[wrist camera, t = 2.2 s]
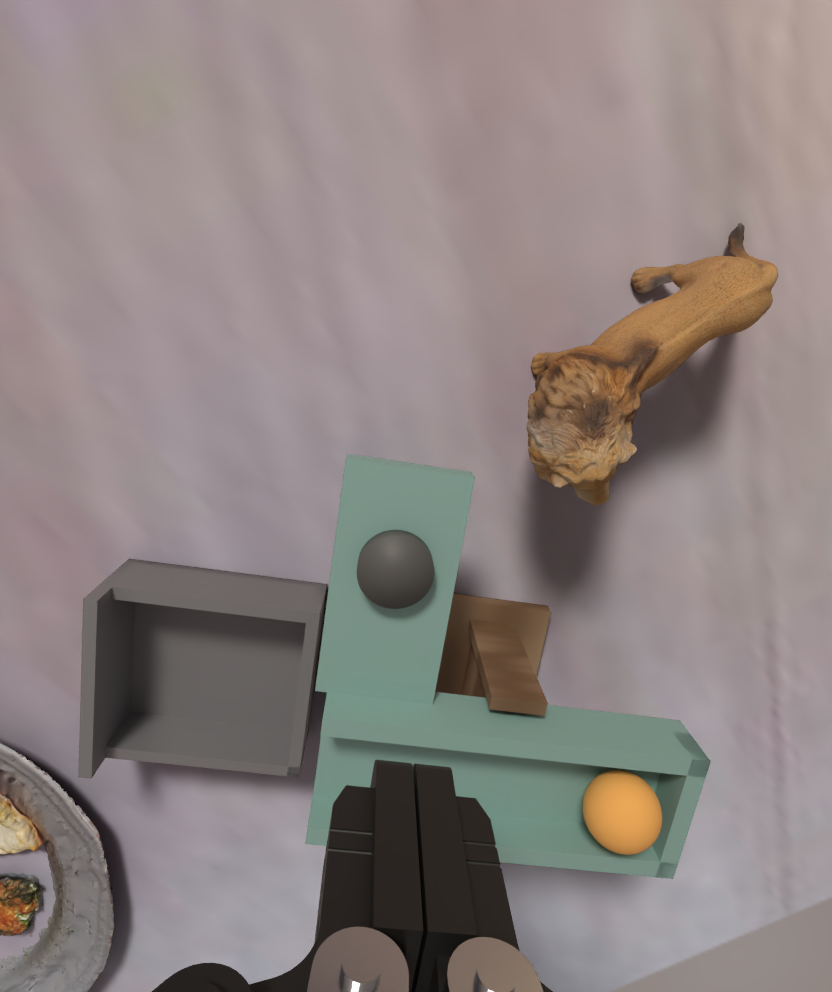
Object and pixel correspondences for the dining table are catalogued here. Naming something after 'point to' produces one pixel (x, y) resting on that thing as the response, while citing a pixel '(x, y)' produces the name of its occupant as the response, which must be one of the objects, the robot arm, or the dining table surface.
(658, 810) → the ball
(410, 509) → the lever
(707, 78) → the dining table surface
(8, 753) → the food plate
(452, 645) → the fulcrum
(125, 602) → the tray
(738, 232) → the lion figurine
